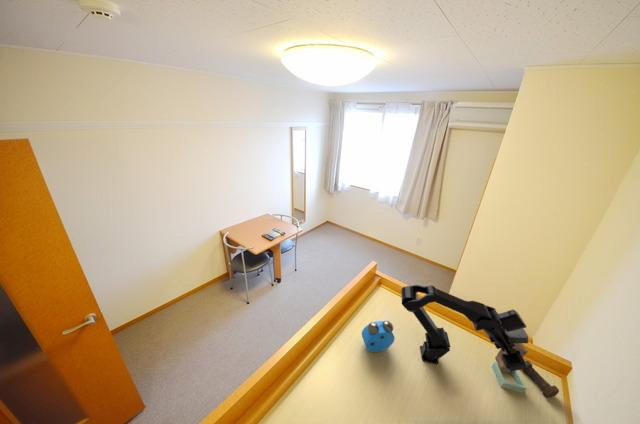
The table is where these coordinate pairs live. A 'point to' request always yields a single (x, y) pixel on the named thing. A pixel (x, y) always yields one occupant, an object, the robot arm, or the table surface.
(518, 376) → the collar
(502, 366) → the peg
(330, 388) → the table surface
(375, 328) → the alarm clock
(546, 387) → the bolt
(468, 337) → the table surface
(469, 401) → the table surface
